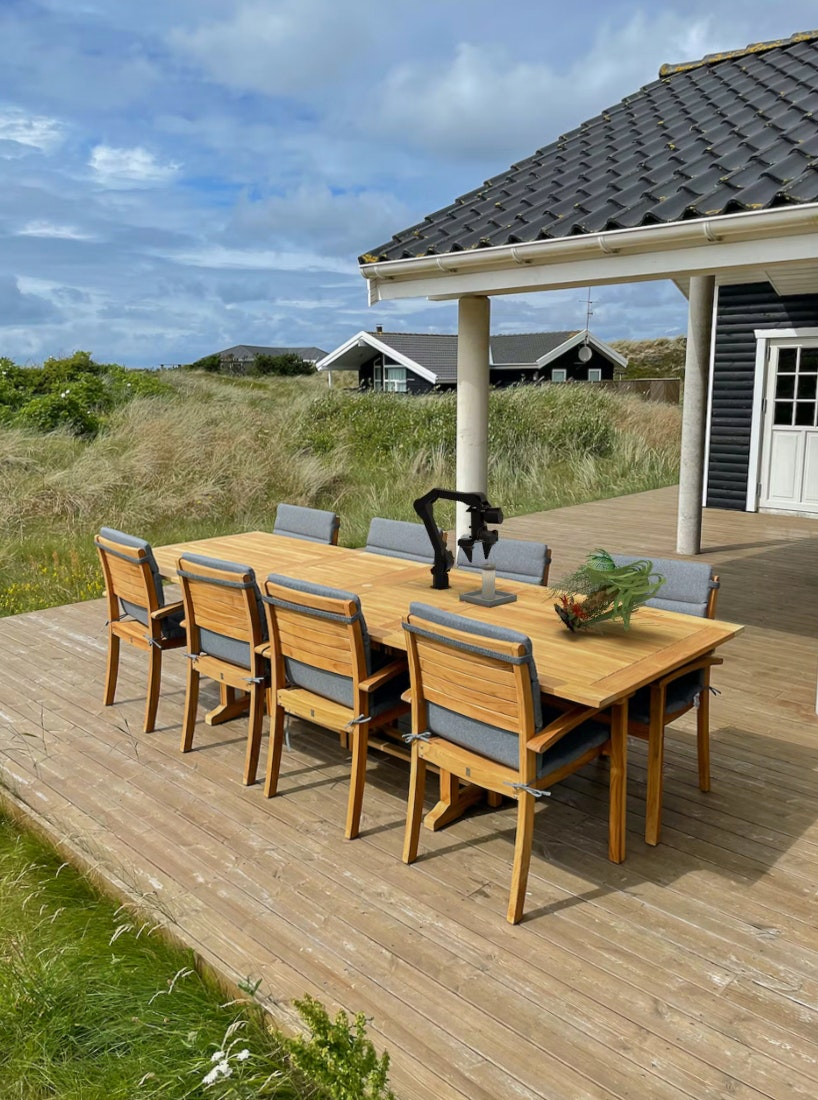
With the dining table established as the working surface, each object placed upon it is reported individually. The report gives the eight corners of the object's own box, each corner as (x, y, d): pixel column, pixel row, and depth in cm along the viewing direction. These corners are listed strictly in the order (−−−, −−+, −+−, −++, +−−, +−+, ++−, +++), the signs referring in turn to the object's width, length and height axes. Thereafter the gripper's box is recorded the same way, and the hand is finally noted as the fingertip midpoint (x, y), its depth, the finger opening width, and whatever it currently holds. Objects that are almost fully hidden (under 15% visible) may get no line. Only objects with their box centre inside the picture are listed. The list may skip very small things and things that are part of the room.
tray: (459, 600, 342) (459, 594, 342) (487, 593, 353) (487, 587, 352) (489, 607, 331) (489, 601, 330) (516, 600, 341) (516, 594, 341)
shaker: (479, 599, 340) (480, 565, 338) (483, 596, 345) (484, 563, 343) (492, 600, 338) (493, 566, 336) (496, 597, 343) (497, 564, 341)
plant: (534, 594, 318) (632, 544, 316) (580, 678, 303) (683, 626, 302) (524, 562, 286) (633, 507, 284) (575, 654, 272) (690, 596, 270)
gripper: (476, 527, 339) (476, 566, 342) (508, 522, 351) (508, 559, 354) (456, 525, 347) (457, 563, 350) (488, 519, 359) (488, 556, 362)
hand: (478, 560), depth 354 cm, fingers open, 9 cm apart
